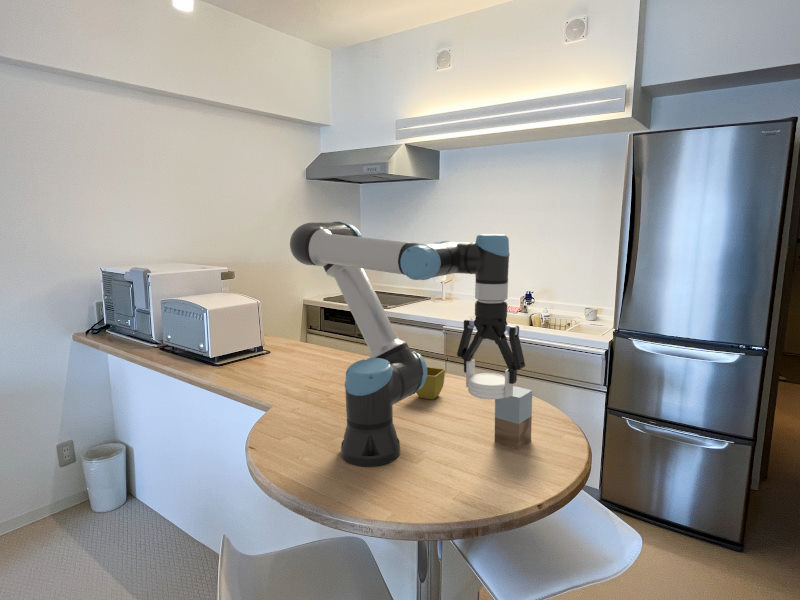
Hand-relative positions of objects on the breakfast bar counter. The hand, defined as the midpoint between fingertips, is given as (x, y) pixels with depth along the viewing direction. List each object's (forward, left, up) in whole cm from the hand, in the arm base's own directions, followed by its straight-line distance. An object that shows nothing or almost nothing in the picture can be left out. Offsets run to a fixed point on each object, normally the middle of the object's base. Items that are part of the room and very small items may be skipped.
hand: (488, 390), depth 117 cm
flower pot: (+25, +38, -18) cm, 48 cm away
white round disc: (0, 0, -1) cm, 1 cm away
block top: (+12, 0, -10) cm, 16 cm away
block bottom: (+12, 0, -17) cm, 21 cm away
